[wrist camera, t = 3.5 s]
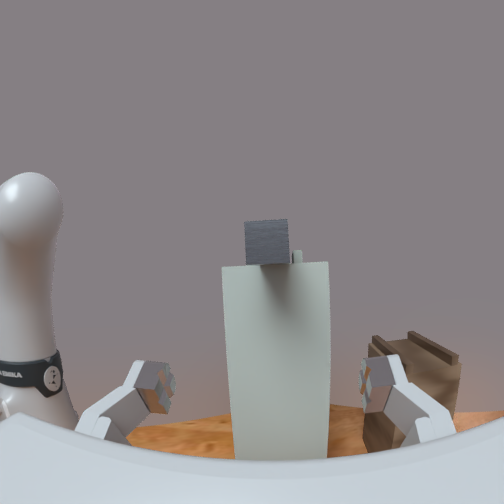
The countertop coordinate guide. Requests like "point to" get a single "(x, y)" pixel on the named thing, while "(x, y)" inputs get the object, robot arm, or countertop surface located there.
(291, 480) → the robot arm
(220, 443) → the countertop surface
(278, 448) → the stand
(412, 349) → the chassis block
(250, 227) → the bar
